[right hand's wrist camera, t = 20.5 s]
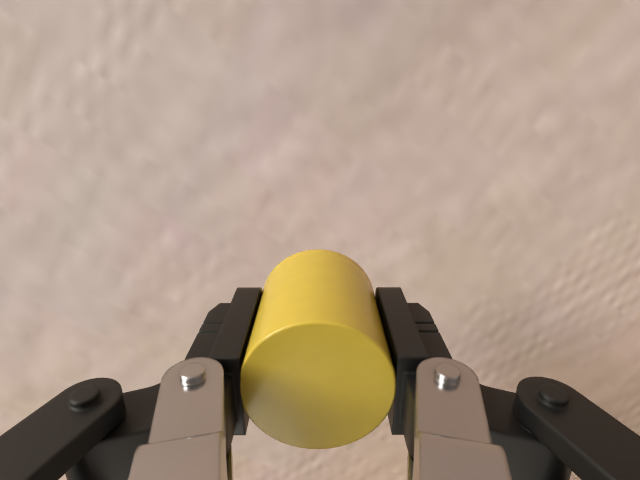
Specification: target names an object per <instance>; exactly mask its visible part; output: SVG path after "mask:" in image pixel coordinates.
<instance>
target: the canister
mask: <svg viewBox="0 0 640 480" xmlns="http://www.w3.org/2000/svg"><path fill="white" fill-rule="evenodd" d="M240 377H241V382H240V390H241V397H242V401H243V407H244V409H245V411H246V413H247V415H248V416H249V417H250V419H251V420H252V421H253V422H254V424H255V425H256V426H257V427H258V428H260V429H261V430H262V431H263V432H265V433H266V434H268V435H269V436H271V437H272V438H274V439H276V440H278V441H281V442H283V443H286V444H289V445H292V446H296V447H301V448H308V449H327V448H334V447H339V446H343V445H347V444H349V443H352V442H355V441H357V440H359V439H361V438H363V437H364V436H366V435H367V434H369V433H370V432H372V431H373V430H374V429H375V428H376V427H378V426H379V425H380V423H381V422H382V421H383V420H384V419H385V417H386V416H387V414H388V413H389V411H390V409H391V407H392V405H393V402H394V398H395V392H396V374H395V369H394V366H393V362H392V358H391V354H390V351H389V347H388V343H387V340H386V336H385V332H384V328H383V325H382V321H381V317H380V314H379V310H378V306H377V302H376V299H375V295H374V291H373V288H372V285H371V282H370V280H369V278H368V276H367V274H366V273H365V272H364V270H363V269H362V268H361V267H360V266H359V265H358V264H357V263H356V262H354V261H353V260H352V259H350V258H348V257H347V256H345V255H342V254H340V253H337V252H333V251H328V250H307V251H303V252H299V253H296V254H294V255H292V256H290V257H288V258H286V259H285V260H283V261H282V262H280V263H279V264H278V265H277V266H276V267H275V268H274V269H273V270H272V272H271V273H270V275H269V276H268V278H267V280H266V282H265V286H264V289H263V292H262V296H261V299H260V303H259V306H258V310H257V313H256V317H255V320H254V324H253V327H252V331H251V334H250V338H249V341H248V345H247V348H246V352H245V355H244V358H243V362H242V365H241V369H240Z"/></svg>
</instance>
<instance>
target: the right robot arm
mask: <svg viewBox="0 0 640 480" xmlns="http://www.w3.org/2000/svg"><path fill="white" fill-rule="evenodd" d="M261 296H262V288H237V290H236V292H235V294H234V297H233V299H232V302H231V303H220V304H218V305H217V306H216V307H215V308H213V309H212V310H211V311H209V313H208V315H207V317H206V318H205V320H204V324H202V326H201V328H200V330H199V333H198V334H197V336H196V338H195V340H194V342H193V344H192V346H191V348H190V350H189V352H188V354H187V356H186V358H185V360H184V361H181V362H179V363H177V364H175V365H174V366H172V367H171V368H170V369H168V370H167V371H166V373H165V374H164V375H163V377H162V380H161V383H159V384H157V385H154V386H152V387H148V388H144V389H139V390H135V391H130V392H126V393H122V388H121V385H120V384H119V383H118V382H117V381H116V380H113V379H110V378H95V379H89V380H86V381H83V382H80V383H77V384H75V385H73V386H71V387H69V388H67V389H66V390H64V391H63V392H61V393H60V394H59V395H57V396H56V397H54V398H53V399H52V400H50V401H49V402H47V403H46V404H45V405H43V406H42V407H40V408H39V409H38V410H36V411H35V412H33V413H32V414H31V415H29V416H28V417H26V418H25V419H24V420H22V421H21V422H19V423H18V424H17V425H15V426H14V427H12V428H11V429H10V430H8V431H7V432H5V433H4V434H3V435H1V436H0V480H58V479H59V478H61V477H62V476H63V475H64V474H66V478H67V480H233V457H232V448H231V443H232V439H233V435H246V430H247V426H248V421H249V416H248V415H247V413H246V411H245V409H244V407H243V401H242V397H241V390H240V382H241V377H240V369H241V365H242V362H243V358H244V355H245V352H246V348H247V345H248V341H249V338H250V334H251V331H252V327H253V324H254V320H255V317H256V313H257V310H258V306H259V303H260V299H261ZM375 299H376V302H377V306H378V310H379V314H380V317H381V321H382V325H383V328H384V332H385V336H386V340H387V343H388V347H389V351H390V354H391V358H392V362H393V366H394V369H395V374H396V392H395V398H394V402H393V405H392V407H391V409H390V411H389V413H388V418H389V423H390V428H391V432H392V435H404V437H405V441H406V445H407V449H408V457H407V480H569V479H570V475H571V472H572V471H573V472H574V473H575V474H576V475H577V476H578V477H579V478H580V479H582V480H640V436H639V435H637V434H636V433H635V432H633V431H632V430H630V429H629V428H628V427H626V426H625V425H623V424H622V423H621V422H619V421H618V420H616V419H615V418H614V417H612V416H611V415H609V414H608V413H607V412H605V411H604V410H602V409H601V408H600V407H598V406H597V405H595V404H594V403H593V402H591V401H590V400H588V399H587V398H586V397H584V396H583V395H581V394H580V393H579V392H577V391H576V390H574V389H573V388H571V387H570V386H568V385H566V384H564V383H561V382H559V381H556V380H553V379H549V378H544V377H529V378H525V379H523V380H522V381H520V382H519V384H518V386H517V390H516V393H513V392H509V391H504V390H500V389H495V388H491V387H487V386H484V385H481V384H479V380H478V377H477V375H476V374H475V373H474V371H473V370H472V369H470V368H469V367H468V366H466V365H465V364H463V363H461V362H459V361H456V360H453V359H452V357H451V355H450V353H449V351H448V349H447V347H446V345H445V343H444V341H443V339H442V337H441V335H440V333H438V329H437V327H436V325H435V324H434V321H433V319H432V317H431V315H430V313H429V311H427V310H426V309H425V308H424V307H422V306H421V305H420V304H419V303H407V302H406V299H405V297H404V295H403V292H402V290H401V288H400V287H377V288H376V293H375Z"/></svg>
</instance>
